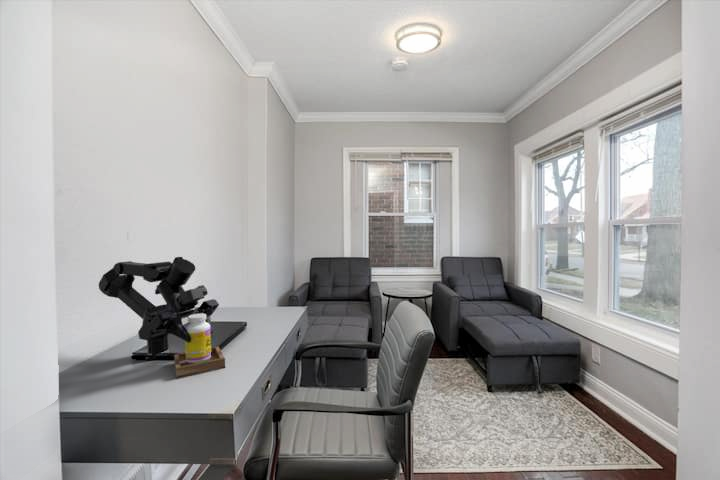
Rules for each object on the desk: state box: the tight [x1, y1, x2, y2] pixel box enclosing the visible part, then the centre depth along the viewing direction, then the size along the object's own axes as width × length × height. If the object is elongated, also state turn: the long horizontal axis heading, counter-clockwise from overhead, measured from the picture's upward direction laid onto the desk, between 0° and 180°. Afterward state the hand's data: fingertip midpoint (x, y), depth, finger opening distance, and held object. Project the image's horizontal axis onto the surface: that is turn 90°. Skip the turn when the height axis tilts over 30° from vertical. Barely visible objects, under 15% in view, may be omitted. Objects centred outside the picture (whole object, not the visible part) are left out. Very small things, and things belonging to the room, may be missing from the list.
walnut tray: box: [173, 345, 226, 379], centre depth 94 cm, size 12×12×3 cm
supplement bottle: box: [184, 314, 212, 364], centre depth 94 cm, size 7×7×13 cm
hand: (201, 337), depth 94 cm, fingers closed on supplement bottle, 7 cm apart
